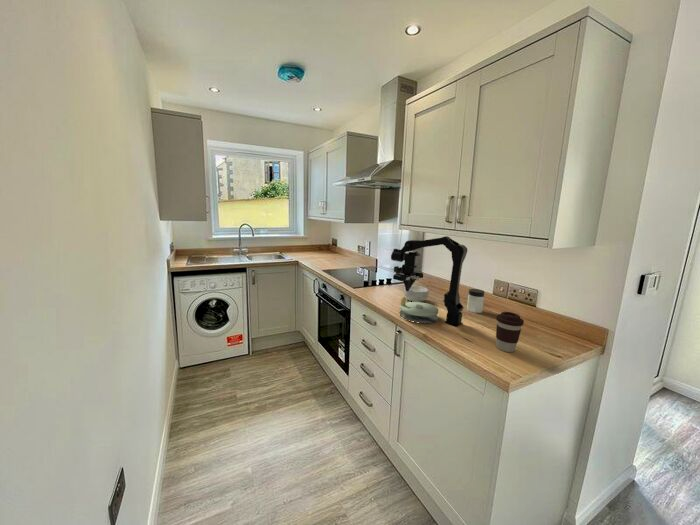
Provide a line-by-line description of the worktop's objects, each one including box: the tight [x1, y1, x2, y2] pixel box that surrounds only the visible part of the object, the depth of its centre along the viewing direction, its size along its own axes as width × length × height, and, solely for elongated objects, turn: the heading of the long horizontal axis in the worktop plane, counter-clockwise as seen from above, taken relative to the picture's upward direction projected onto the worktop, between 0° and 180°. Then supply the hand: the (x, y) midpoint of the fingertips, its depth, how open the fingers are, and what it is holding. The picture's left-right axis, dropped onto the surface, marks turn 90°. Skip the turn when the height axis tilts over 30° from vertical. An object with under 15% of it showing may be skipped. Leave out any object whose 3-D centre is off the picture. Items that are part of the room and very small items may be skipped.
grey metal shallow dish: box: [398, 309, 439, 324], centre depth 154 cm, size 20×20×4 cm
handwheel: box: [399, 296, 439, 317], centre depth 153 cm, size 20×20×6 cm
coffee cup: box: [495, 311, 525, 353], centre depth 121 cm, size 10×10×15 cm
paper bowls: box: [403, 284, 430, 303], centre depth 183 cm, size 15×15×8 cm
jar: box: [466, 288, 485, 314], centre depth 168 cm, size 9×8×12 cm
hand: (407, 291), depth 161 cm, fingers closed
